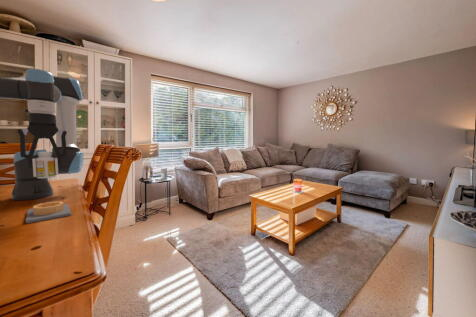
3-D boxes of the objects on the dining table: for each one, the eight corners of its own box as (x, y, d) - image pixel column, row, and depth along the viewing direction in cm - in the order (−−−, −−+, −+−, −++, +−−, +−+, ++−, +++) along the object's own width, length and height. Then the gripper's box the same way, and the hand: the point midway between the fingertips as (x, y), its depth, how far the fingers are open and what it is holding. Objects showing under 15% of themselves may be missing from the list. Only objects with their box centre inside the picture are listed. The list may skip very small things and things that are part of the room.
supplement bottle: (55, 175, 84) (53, 151, 83) (56, 177, 80) (54, 151, 79) (36, 177, 80) (34, 151, 79) (36, 179, 76) (34, 152, 75)
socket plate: (28, 211, 83) (27, 203, 82) (67, 205, 91) (67, 197, 91) (26, 223, 71) (25, 213, 71) (71, 215, 79) (70, 206, 79)
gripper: (4, 109, 69) (9, 179, 71) (74, 114, 81) (77, 174, 83) (7, 112, 75) (11, 176, 76) (72, 116, 87) (75, 172, 89)
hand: (46, 175), depth 80 cm, fingers closed on supplement bottle, 5 cm apart
